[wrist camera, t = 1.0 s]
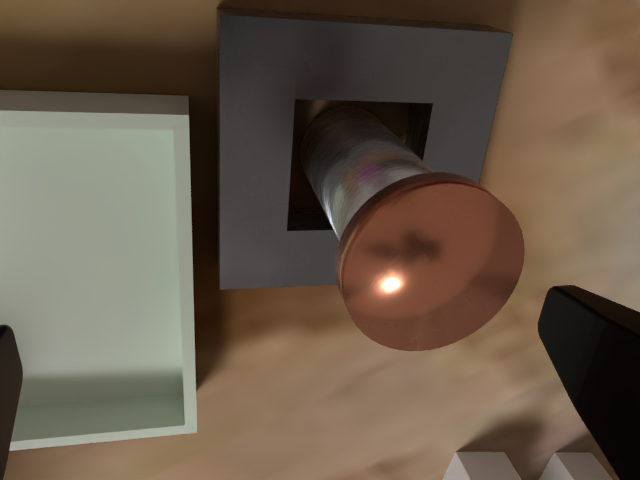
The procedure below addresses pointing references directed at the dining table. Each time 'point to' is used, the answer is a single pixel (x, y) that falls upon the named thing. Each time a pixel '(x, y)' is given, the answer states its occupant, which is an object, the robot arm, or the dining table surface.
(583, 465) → the white tape roll holder
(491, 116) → the collar
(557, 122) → the dining table surface
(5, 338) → the robot arm
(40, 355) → the tray
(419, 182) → the salt shaker
